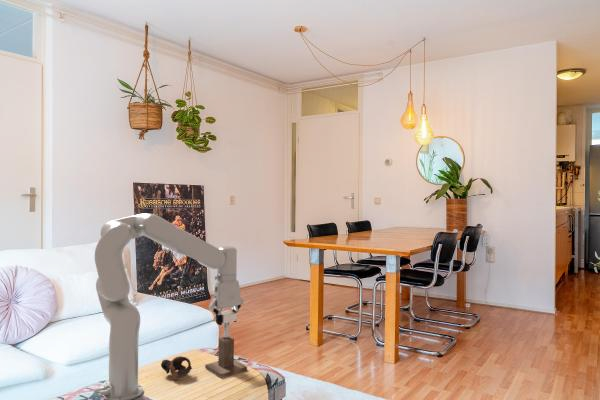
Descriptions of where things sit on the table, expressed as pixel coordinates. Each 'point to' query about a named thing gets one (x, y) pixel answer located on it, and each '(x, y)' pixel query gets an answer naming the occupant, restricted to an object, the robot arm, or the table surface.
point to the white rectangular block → (226, 318)
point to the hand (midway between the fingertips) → (226, 322)
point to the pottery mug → (176, 367)
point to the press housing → (226, 360)
